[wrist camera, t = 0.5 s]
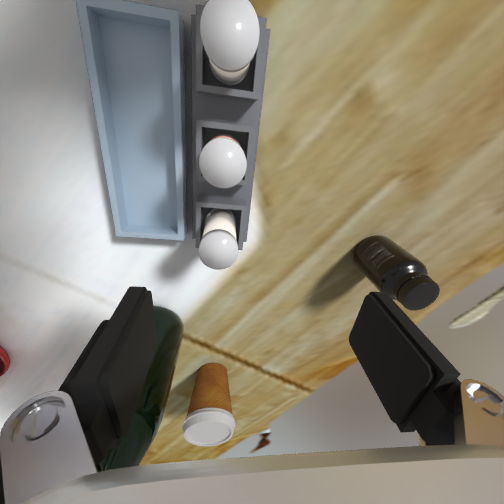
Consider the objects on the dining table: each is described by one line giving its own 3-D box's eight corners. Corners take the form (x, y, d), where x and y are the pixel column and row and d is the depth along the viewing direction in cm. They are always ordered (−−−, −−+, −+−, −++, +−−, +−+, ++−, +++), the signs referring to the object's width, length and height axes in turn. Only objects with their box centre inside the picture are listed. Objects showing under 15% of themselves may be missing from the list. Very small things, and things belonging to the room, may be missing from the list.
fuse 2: (206, 203, 33) (198, 233, 24) (236, 206, 33) (239, 236, 25) (205, 231, 35) (198, 268, 26) (234, 233, 35) (236, 270, 27)
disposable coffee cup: (182, 377, 52) (171, 440, 42) (205, 351, 49) (199, 414, 39) (218, 389, 56) (216, 451, 45) (242, 367, 53) (246, 427, 42)
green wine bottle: (145, 293, 41) (-55, 703, 12) (195, 320, 45) (136, 678, 16) (115, 329, 44) (-98, 719, 15) (165, 351, 48) (70, 694, 19)
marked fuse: (208, 131, 29) (199, 135, 20) (242, 135, 29) (249, 141, 20) (207, 167, 31) (198, 186, 22) (239, 171, 31) (244, 190, 22)
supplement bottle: (352, 272, 43) (393, 321, 32) (351, 239, 39) (396, 282, 29) (390, 263, 42) (443, 309, 32) (392, 229, 39) (452, 268, 29)
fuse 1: (210, 33, 24) (200, -16, 16) (250, 40, 25) (263, -3, 16) (209, 83, 26) (199, 63, 18) (246, 88, 27) (255, 72, 18)
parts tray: (91, 5, 24) (74, -9, 21) (183, 22, 25) (178, 10, 22) (124, 227, 35) (116, 236, 32) (187, 231, 36) (183, 240, 33)
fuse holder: (193, 20, 25) (186, 1, 21) (268, 33, 26) (275, 17, 22) (193, 234, 36) (189, 247, 32) (245, 237, 37) (247, 251, 33)
